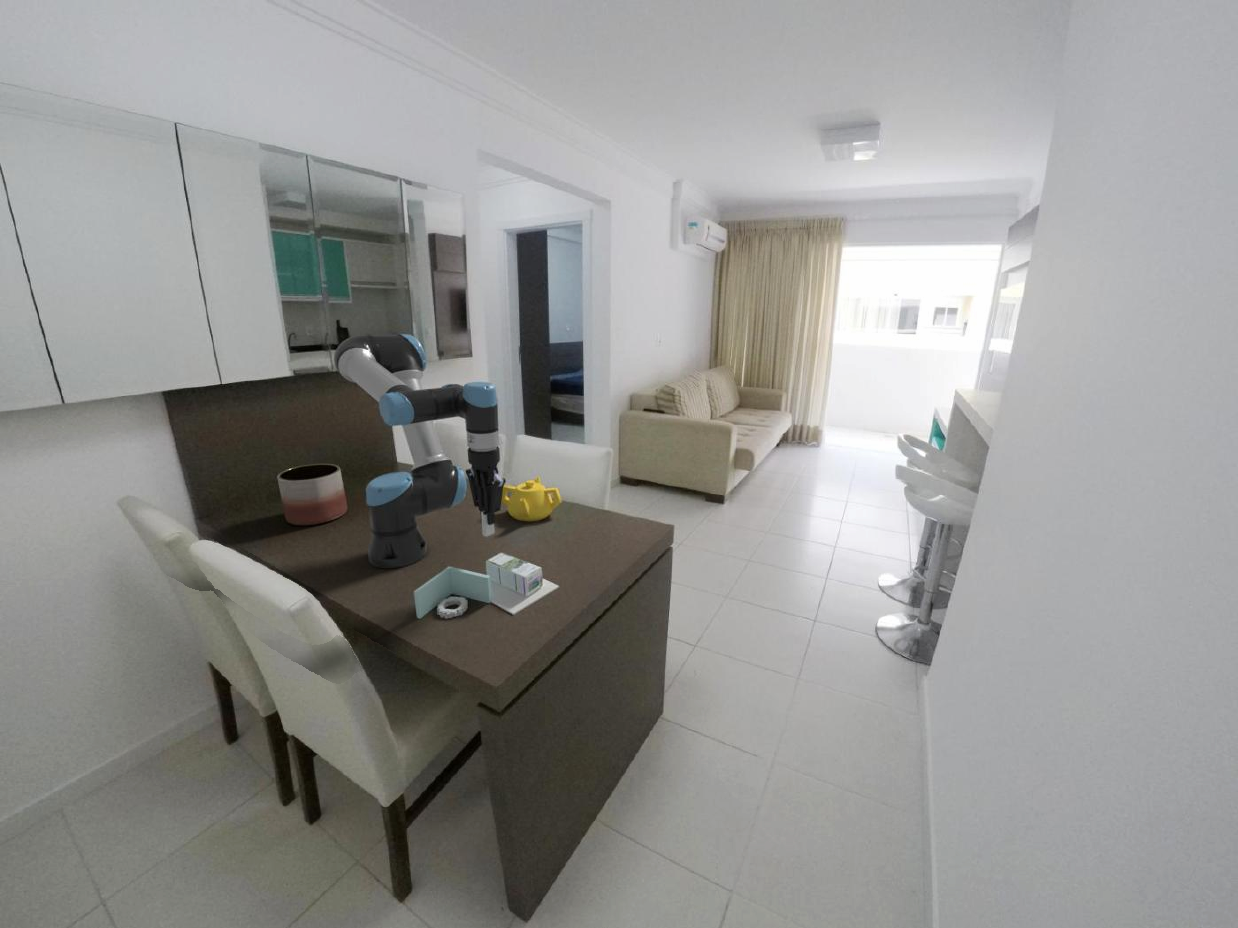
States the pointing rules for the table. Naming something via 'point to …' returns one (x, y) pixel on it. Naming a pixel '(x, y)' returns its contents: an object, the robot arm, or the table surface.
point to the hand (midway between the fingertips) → (488, 534)
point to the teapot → (530, 500)
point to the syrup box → (514, 573)
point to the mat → (518, 596)
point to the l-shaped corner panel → (452, 592)
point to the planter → (312, 494)
